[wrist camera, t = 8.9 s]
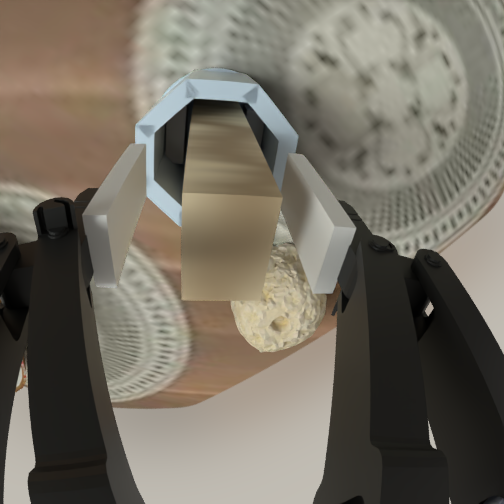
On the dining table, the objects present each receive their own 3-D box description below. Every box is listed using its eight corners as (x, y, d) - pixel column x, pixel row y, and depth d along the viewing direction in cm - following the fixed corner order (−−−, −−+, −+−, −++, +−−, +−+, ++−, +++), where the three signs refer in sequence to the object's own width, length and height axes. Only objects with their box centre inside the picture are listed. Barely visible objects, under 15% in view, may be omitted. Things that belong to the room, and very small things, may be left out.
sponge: (226, 240, 33) (191, 330, 29) (292, 215, 26) (256, 332, 22) (287, 281, 38) (262, 363, 33) (355, 269, 30) (334, 369, 26)
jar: (153, 176, 24) (135, 227, 18) (157, 65, 19) (133, 74, 13) (264, 182, 26) (282, 233, 20) (281, 74, 20) (311, 88, 14)
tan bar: (189, 157, 23) (181, 300, 12) (194, 98, 20) (182, 192, 9) (230, 159, 23) (260, 300, 12) (237, 100, 20) (282, 197, 10)
